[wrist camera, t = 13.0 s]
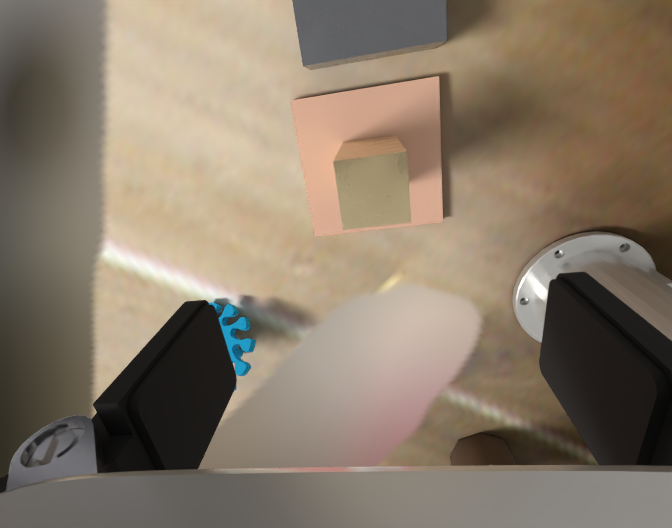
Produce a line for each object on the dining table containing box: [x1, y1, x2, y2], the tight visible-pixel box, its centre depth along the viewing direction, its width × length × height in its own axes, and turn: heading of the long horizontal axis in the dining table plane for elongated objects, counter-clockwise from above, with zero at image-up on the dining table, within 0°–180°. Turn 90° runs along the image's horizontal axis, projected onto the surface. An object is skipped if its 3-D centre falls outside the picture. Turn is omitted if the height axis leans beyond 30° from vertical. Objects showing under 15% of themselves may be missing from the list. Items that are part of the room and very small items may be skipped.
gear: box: [209, 303, 256, 390], centre depth 40 cm, size 11×6×10 cm
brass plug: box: [333, 135, 411, 230], centre depth 27 cm, size 4×4×10 cm
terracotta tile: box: [290, 76, 443, 236], centre depth 32 cm, size 12×12×1 cm
